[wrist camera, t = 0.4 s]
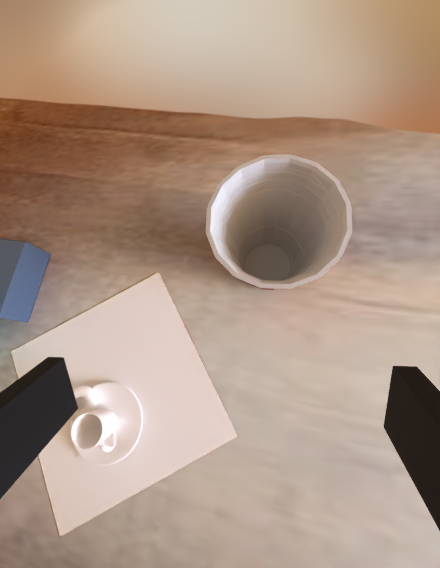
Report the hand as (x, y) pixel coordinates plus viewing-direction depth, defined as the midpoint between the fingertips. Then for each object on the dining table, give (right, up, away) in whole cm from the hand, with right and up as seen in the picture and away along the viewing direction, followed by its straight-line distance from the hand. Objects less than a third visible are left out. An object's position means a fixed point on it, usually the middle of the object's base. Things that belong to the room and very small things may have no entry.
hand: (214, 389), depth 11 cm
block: (-29, +5, +24) cm, 37 cm away
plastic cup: (+6, +6, +20) cm, 22 cm away
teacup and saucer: (-11, -8, +18) cm, 23 cm away
